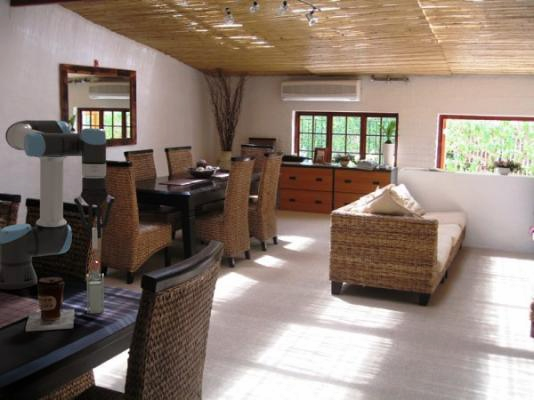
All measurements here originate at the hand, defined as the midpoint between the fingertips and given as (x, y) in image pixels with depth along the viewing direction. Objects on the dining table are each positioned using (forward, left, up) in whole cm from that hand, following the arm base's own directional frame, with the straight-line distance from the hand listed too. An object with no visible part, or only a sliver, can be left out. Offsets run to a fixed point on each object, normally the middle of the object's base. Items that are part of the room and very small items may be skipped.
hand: (94, 248), depth 191 cm
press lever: (-2, 0, -10) cm, 10 cm away
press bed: (0, -14, -24) cm, 28 cm away
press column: (-8, 0, -24) cm, 26 cm away
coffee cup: (0, -14, -23) cm, 27 cm away
